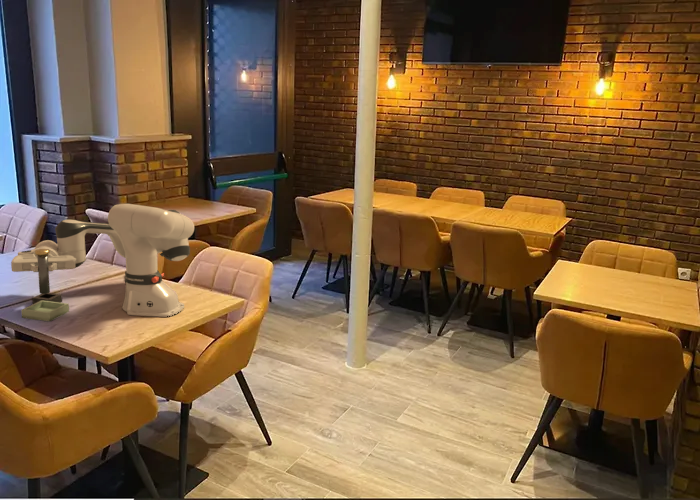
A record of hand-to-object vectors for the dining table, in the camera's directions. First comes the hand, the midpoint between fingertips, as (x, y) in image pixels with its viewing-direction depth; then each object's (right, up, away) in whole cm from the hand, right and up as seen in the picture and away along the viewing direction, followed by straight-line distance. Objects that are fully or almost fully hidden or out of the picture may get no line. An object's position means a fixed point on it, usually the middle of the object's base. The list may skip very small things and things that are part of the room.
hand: (43, 269), depth 199 cm
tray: (-2, -16, +5) cm, 17 cm away
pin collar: (-6, -13, +15) cm, 21 cm away
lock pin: (-1, -8, +3) cm, 9 cm away
